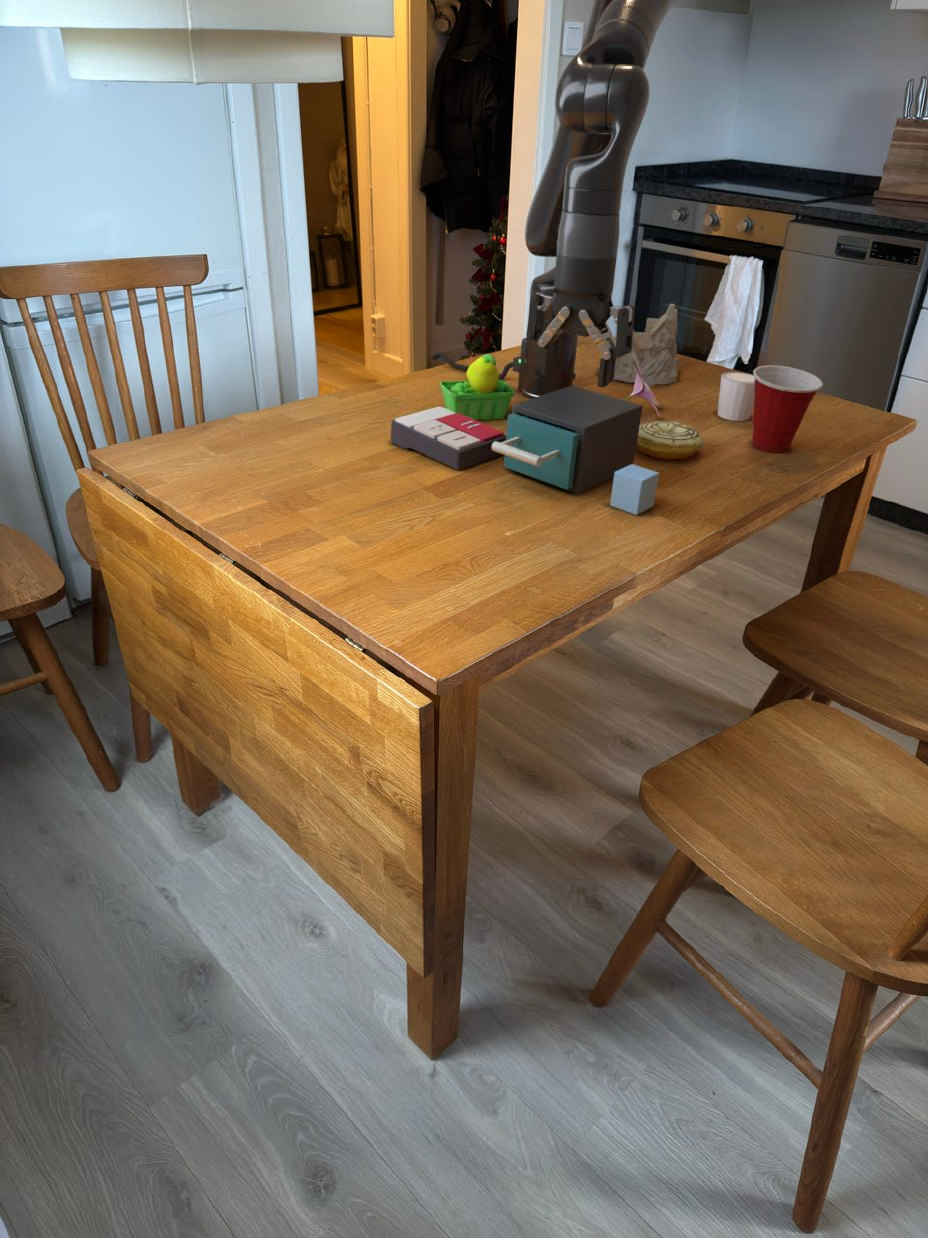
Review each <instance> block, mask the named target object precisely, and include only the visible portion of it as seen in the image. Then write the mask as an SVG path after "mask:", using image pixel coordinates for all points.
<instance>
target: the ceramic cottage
mask: <svg viewBox="0 0 928 1238" xmlns="http://www.w3.org/2000/svg"><path fill="white" fill-rule="evenodd" d="M678 323H679V322H678V309H677V308H676V304H675V303H669V305H668V308H667V310H666V312H665V313H664V314H663V315H662V316H661V317H659V318H653V317H652V318H651V317H647V318H646V324H645V328H644V331H643V332H640V331H635V330H634V328H633V340H632V350H631V352H630V353H628V354H626V355H624V356H621V357H617V358H616V363H615V370H614V371H615V372H614V378H613V380H612V381H621V382H625V383H634V384H635V381H636V376H637V373H638V375H639V371H638V366H637V363H636V361H635V358H636V360H637V362H638V364H639V367H640V370H641V378H642V380H643V381H644V382H645V383H646V384H647V385H648V384H650V385H651V384H653V385H654V383H655V385H662V386H663V385H668V384H672V383H675V382H677V380H678V374H679V370H680V369H679V364H680V359H678V358H677V351H678V350H677V349H678V347H677V343H676V341H677V340H676V339H677V334H678V326H679V324H678ZM612 338H613V340H614V342H615V344H616V336H615V335H614V336H613V335H612ZM632 353H633V354H632ZM600 355H601V354H600ZM633 355H634V356H633ZM634 357H635V358H634ZM602 358H603V357H602V355H601V359H602ZM633 366H634V367H635V368H636V370H637V373H636V371H635V369H634V367H633ZM651 381H652V382H651Z"/></svg>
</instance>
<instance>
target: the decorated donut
mask: <svg viewBox="0 0 928 1238" xmlns="http://www.w3.org/2000/svg"><path fill="white" fill-rule="evenodd" d="M703 446H704V439H703V437H702V435H701V433H699V432H698V430H696V429H694V428H693V427H691V426H690V425H687V424H685V423H682V422H678V421H661V420H660V421H659V420H657V421H651V422H646V423H643V424H640V426H639V433H638V439H637V446H636V447H637V448H638V449H639V450H640V452H642V453H644V454H646V455H648V456H650V457H652V458H657V459H662V460H668V461H670V460H684V459H687V458H691V457H692V456H693V455H694V454H695V453H697V452H698V451H699V449H701V448H703Z"/></svg>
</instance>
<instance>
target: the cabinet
mask: <svg viewBox="0 0 928 1238" xmlns="http://www.w3.org/2000/svg"><path fill="white" fill-rule="evenodd" d="M625 400H626V399H622V398H618V397H615V396H611V395H607V394H604V393H600V392H596V391H594V390H591V389H590V390H589V389H586V388H583V387H579V386H576V385H574V384H573V385H572V386H569V387H566V388H563V389H560V390H557V391H554V392H551V393H548V394H545V395H542V396H539V397H536V398H529V399H526V400H524V401H520V402H518V403H515V404H512V408H511V410H512V411H511V414H512V413H514V414H517V415H520V416H523V414H524V415H527V416H530V417H533V418H536V419H539V420H543V421H546V422H549V423H552V424H555V425H558V426H561V427H564V428H568V429H571V430H574V431H577V432H580V433H579V439H578V448H577V456H576V464H575V473H574V481H573V486H572V488H570V489H568V490H566V489H564V488H561V487H558V486H555V485H553V484H550V483H547V482H545V481H542V480H539V479H536V478H534V477H531V476H528V475H525V474H523V473H520V472H517V471H515V470H512V469H509V468H507V469H508V470H511V471H513V472H515V473H519V474H522V475H524V476H527V477H530V478H531V479H535V480H537V481H541V482H543V483H545V484H548V485H551V486H554V487H557V488H559V489H563V490H564V491H567V492H570V493H573V494H576V495H579V494H581V493H582V492H585V491H587V490H589V489H591V488H593V487H595V486H597V485H598V486H599V485H600V484H602V483H603V482H606V481H608V480H610V479H612V478H613V479H614V474H615V472H616V471H618V470H620V469H622V468H624V467H627V466H629V465H631V464H634V465H635V458H636V453H637V452H636V450H637V447H638V446H637V439H638V433H639V426H641V419H642V413H643V405H642V404H640V403H639V404H638V403H635V402H631V401H628V400H627V401H625Z"/></svg>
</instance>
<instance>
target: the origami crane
mask: <svg viewBox="0 0 928 1238" xmlns="http://www.w3.org/2000/svg"><path fill="white" fill-rule="evenodd" d="M632 354H633V353H632ZM633 356H634V355H633ZM634 358H635V357H634ZM635 361H636V363H637V366H638V371H639V375H638V373H637V370H636V368H635V367H634V366H633V367H634V369H635V371H636V373H637V376H636V381H635V383H634V386H633V390H632V393H630V394H629V396H627V397H626V398H625V399H624V400H625V401H628V400H630V398H632V397H633V396H636V397H639V398H642V399H644V400H646V401H647V402H649V403H650V404H651V405H652V407H653V408H654V410H655V411H656V413H657V416H658V417H659V418H661V415H660V414H659V411H658V408H657V407H656V405H657V406H658V407H659V408H661V406H660V404H659V401H658V400H657V398H656V396H655V393H654V392H653V390H652V389H650V388H654V386H656V384H655V383H654V384H646V383H645V382H644V381H643V380H642V378H641V370H640V367H639V364H638V362H637V360H636V358H635ZM651 382H652V381H651ZM655 404H656V405H655Z"/></svg>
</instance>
